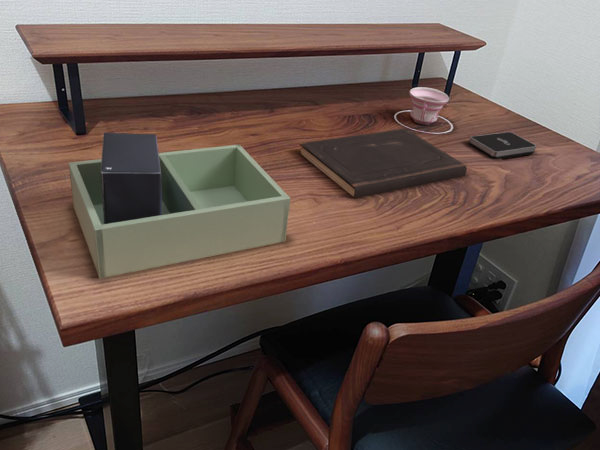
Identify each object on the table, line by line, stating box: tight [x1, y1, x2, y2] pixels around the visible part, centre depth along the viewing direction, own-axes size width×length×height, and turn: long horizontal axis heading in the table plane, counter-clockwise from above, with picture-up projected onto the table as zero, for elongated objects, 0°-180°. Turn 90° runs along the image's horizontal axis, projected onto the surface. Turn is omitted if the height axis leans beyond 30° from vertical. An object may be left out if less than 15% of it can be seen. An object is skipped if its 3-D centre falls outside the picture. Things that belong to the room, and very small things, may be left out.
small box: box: [101, 132, 162, 224], centre depth 64 cm, size 11×6×10 cm, turn 15°
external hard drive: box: [468, 131, 537, 160], centre depth 104 cm, size 7×11×2 cm, turn 118°
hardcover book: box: [299, 128, 468, 200], centre depth 92 cm, size 16×23×2 cm
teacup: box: [393, 86, 454, 135], centre depth 110 cm, size 12×12×6 cm
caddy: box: [68, 144, 291, 280], centre depth 68 cm, size 22×16×7 cm
